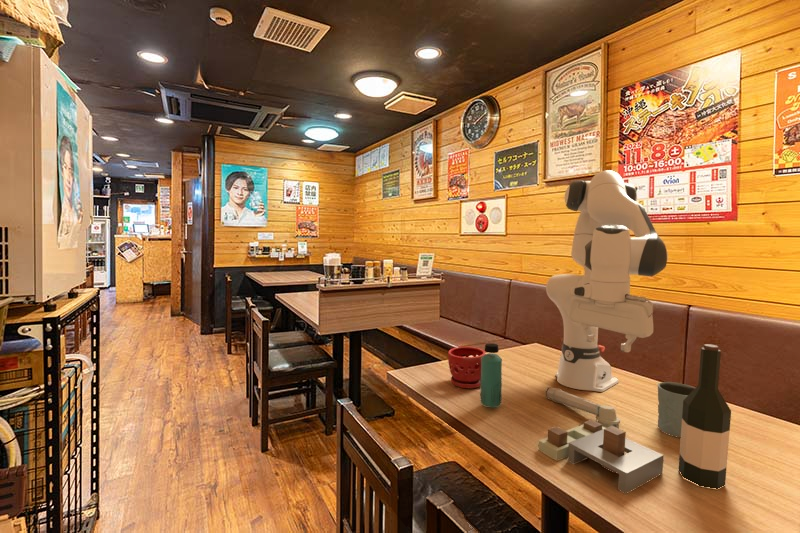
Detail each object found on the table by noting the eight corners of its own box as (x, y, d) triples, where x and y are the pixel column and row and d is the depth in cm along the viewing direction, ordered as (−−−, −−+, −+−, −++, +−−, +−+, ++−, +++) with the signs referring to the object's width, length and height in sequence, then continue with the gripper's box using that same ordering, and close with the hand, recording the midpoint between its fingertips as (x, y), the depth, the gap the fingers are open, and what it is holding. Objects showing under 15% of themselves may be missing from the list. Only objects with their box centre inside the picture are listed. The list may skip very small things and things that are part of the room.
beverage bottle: (501, 413, 121) (503, 347, 119) (479, 411, 122) (480, 346, 121) (500, 404, 127) (502, 342, 126) (479, 402, 129) (481, 340, 127)
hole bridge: (604, 445, 103) (605, 428, 103) (662, 474, 91) (663, 455, 91) (567, 460, 96) (568, 442, 96) (625, 493, 84) (626, 473, 84)
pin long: (610, 462, 95) (612, 425, 95) (623, 469, 93) (625, 431, 92) (601, 466, 94) (603, 429, 93) (615, 473, 91) (617, 435, 90)
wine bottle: (669, 467, 93) (678, 340, 91) (702, 466, 94) (712, 340, 91) (698, 491, 85) (709, 351, 82) (735, 489, 86) (747, 351, 83)
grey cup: (647, 425, 114) (649, 384, 113) (670, 419, 118) (673, 379, 117) (684, 443, 104) (687, 398, 103) (708, 435, 108) (711, 392, 107)
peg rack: (591, 430, 111) (591, 421, 111) (609, 439, 106) (610, 429, 106) (538, 450, 101) (538, 440, 100) (556, 460, 96) (557, 450, 96)
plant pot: (462, 374, 153) (462, 343, 152) (492, 384, 144) (493, 351, 143) (440, 383, 144) (440, 350, 143) (470, 394, 135) (471, 359, 134)
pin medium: (555, 447, 102) (556, 426, 102) (566, 453, 99) (567, 431, 99) (547, 450, 101) (547, 429, 100) (557, 456, 98) (558, 434, 97)
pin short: (590, 433, 109) (591, 419, 109) (601, 439, 106) (602, 424, 106) (583, 436, 108) (583, 422, 107) (593, 442, 105) (594, 427, 104)
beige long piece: (555, 385, 134) (623, 404, 111) (556, 405, 133) (625, 429, 110) (543, 387, 132) (609, 408, 109) (544, 408, 131) (611, 433, 108)
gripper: (660, 296, 92) (657, 355, 94) (581, 284, 109) (579, 334, 111) (645, 300, 89) (642, 360, 90) (565, 287, 106) (564, 338, 108)
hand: (607, 346), depth 101 cm, fingers open, 8 cm apart
